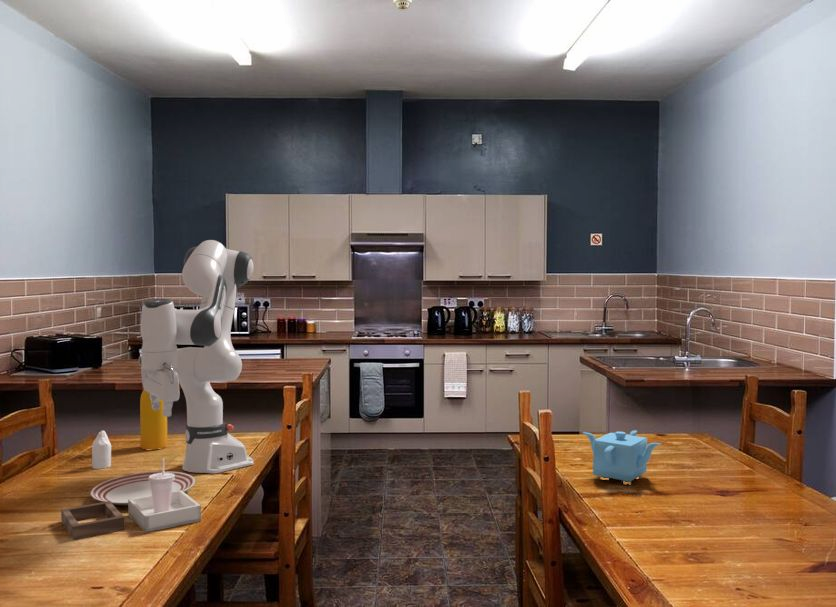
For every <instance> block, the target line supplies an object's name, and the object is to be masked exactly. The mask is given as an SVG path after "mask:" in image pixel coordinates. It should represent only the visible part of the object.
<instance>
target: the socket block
mask: <svg viewBox="0 0 836 607" xmlns="http://www.w3.org/2000/svg"><path fill="white" fill-rule="evenodd" d="M60 512H61V514H60V517H61V520H60V521H62V522H61V523H62V524H63V526H64V528H65V530H66V531H67V533H68V534H69V535H70V537H71V539H72V541H73V540H77V538H79V539H83V537H84V538H88V536H89V537H93V535H94V536H98V534H99V535H103V534H108V533H112V532H118V531H123V530H125V516H124V515H123V514H122V513H121V512H120V511H119V509H118V508H117V507H116V506H115V504H112V503H111V502H110V501H107V502H101V501H100V502H96V503H90V504H85V505H80V506H74V507H69V508H63V509H61V511H60ZM101 515H102V516H105V517H106V518H103V519H97V520H93V521H86V522H81V523H79V522H78V521H79V520H85V519H91V518H90V517H92V518H95V516H97V517H101ZM122 529H123V530H122Z"/></svg>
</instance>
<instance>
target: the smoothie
mask: <svg viewBox="0 0 836 607" xmlns="http://www.w3.org/2000/svg"><path fill="white" fill-rule="evenodd" d="M161 469H162V470H161V471H162V473H156V474H153V475H150V476H149V480H148V481H149V482H150V486H151V493H152V500H153V507H154V513H159V512H164V511H170V505H171V496H172V488H173V480H174V479H175V475H174V474H173V473H167V472H165V458H162V459H161Z"/></svg>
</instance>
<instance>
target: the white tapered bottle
mask: <svg viewBox="0 0 836 607" xmlns="http://www.w3.org/2000/svg"><path fill="white" fill-rule="evenodd" d="M91 450H92V451H91V453H92V454H91V465H92V466H91V468H92V469H93V470H102V468H103V469H107V467H108V468H110V467H112V444H111V441H110V440H109V437H108V434H107V433H106V431H105V430H101V431H99V432H98V434H97V436H96V437H95V439H94V440H93V442H92V445H91Z"/></svg>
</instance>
